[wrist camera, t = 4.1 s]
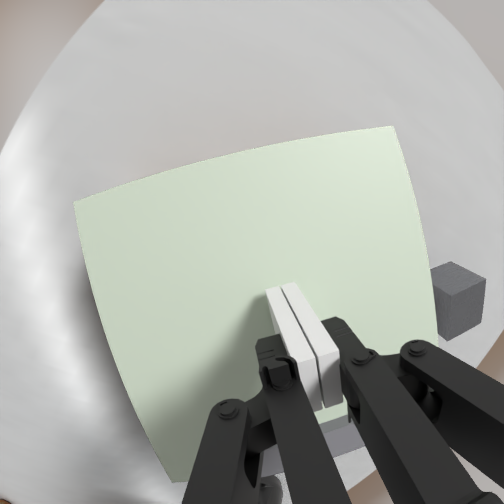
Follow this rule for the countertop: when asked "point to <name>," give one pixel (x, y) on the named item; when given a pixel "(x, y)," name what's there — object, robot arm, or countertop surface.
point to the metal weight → (457, 299)
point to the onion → (4, 502)
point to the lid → (252, 274)
